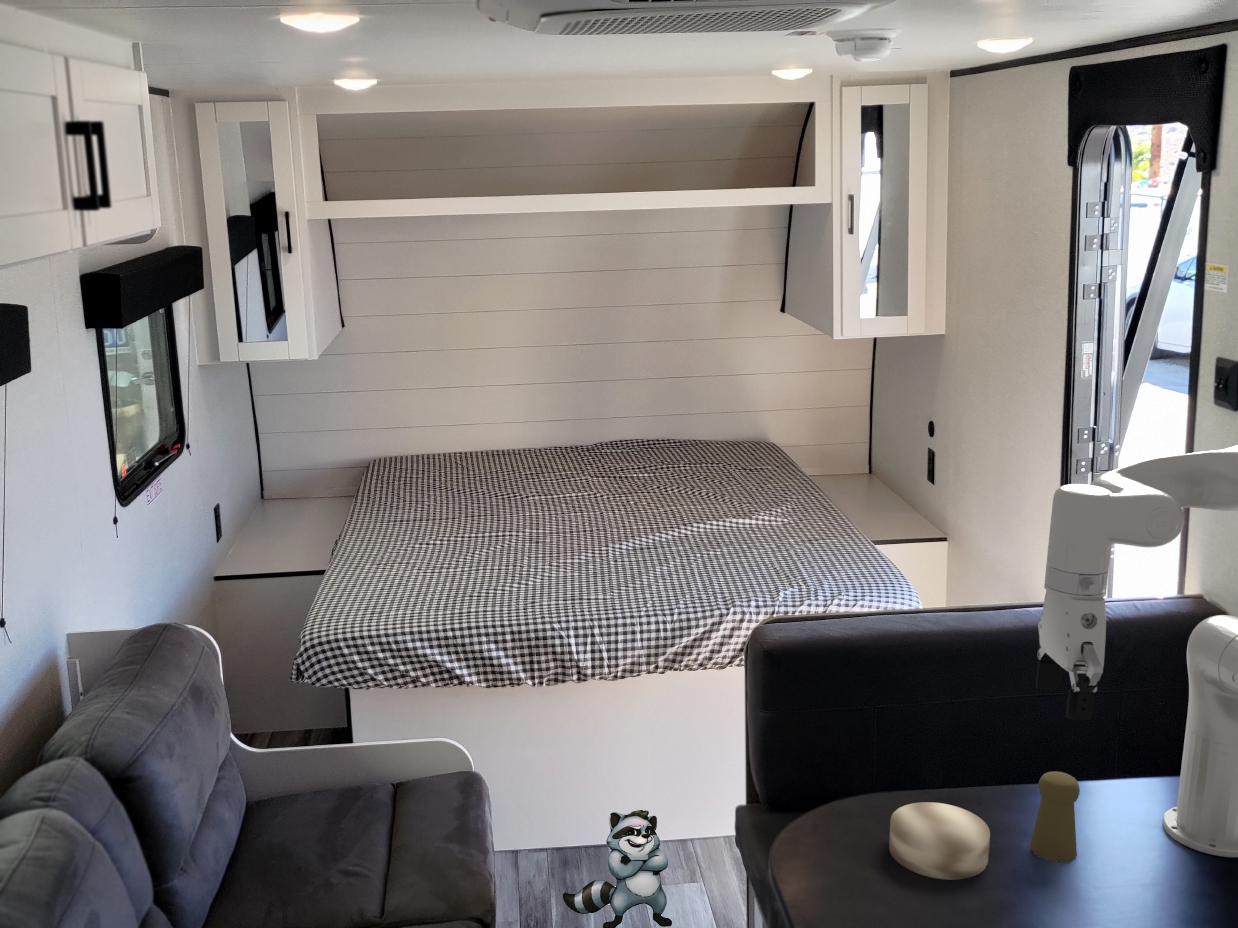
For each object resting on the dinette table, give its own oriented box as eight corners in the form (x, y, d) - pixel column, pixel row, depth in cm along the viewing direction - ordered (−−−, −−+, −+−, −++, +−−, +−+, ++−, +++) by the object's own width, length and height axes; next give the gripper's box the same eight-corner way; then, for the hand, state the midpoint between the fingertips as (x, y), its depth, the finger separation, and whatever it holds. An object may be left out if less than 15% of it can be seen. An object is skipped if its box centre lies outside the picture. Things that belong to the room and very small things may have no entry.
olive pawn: (1069, 839, 160) (1076, 766, 158) (1082, 863, 154) (1089, 787, 152) (1025, 837, 161) (1031, 764, 158) (1036, 860, 155) (1042, 785, 153)
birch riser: (968, 826, 163) (970, 800, 163) (1002, 878, 151) (1005, 850, 150) (877, 828, 163) (879, 802, 162) (904, 880, 150) (906, 852, 149)
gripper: (1136, 601, 141) (1120, 731, 145) (1075, 560, 158) (1062, 677, 162) (1076, 601, 141) (1062, 731, 145) (1021, 560, 158) (1010, 677, 162)
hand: (1062, 702), depth 153 cm, fingers open, 9 cm apart
